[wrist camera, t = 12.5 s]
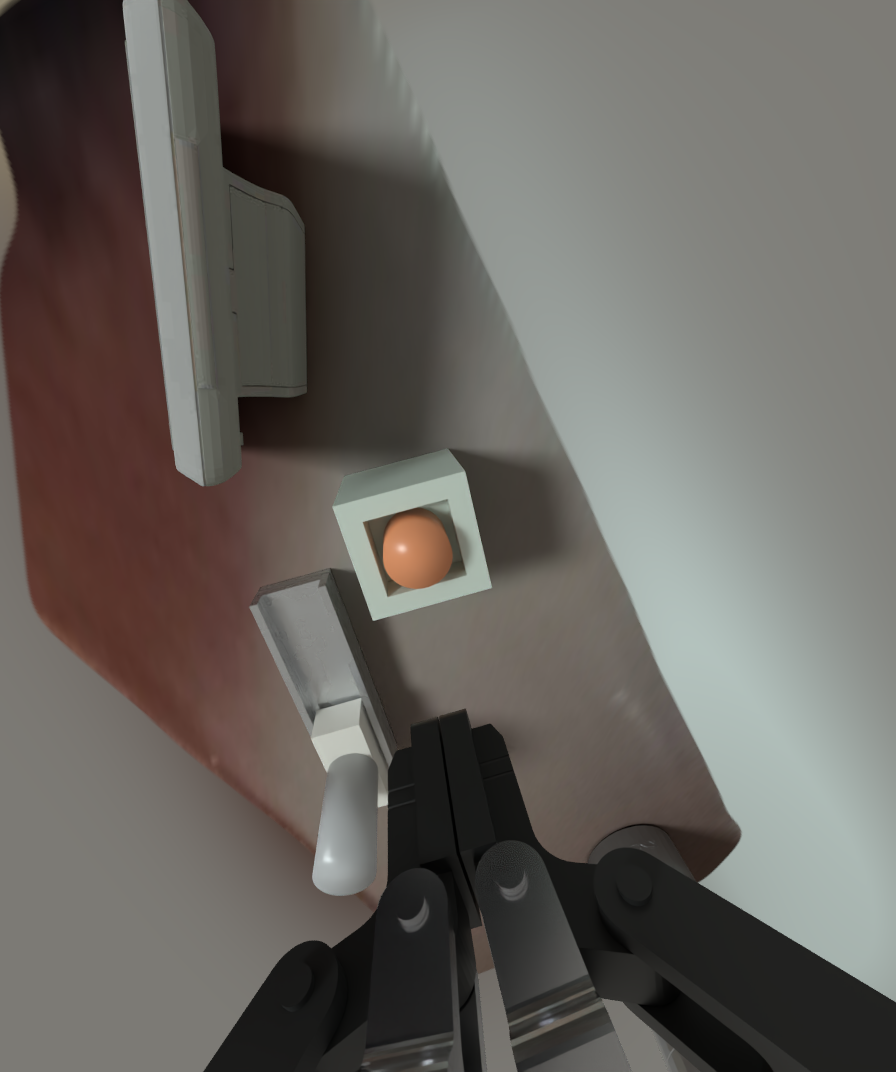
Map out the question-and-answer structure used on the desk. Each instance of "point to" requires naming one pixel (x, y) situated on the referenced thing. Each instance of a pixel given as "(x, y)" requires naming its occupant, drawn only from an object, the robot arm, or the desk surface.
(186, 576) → the desk surface
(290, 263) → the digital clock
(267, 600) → the rail
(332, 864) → the carriage
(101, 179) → the desk surface
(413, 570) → the button
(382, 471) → the button housing
